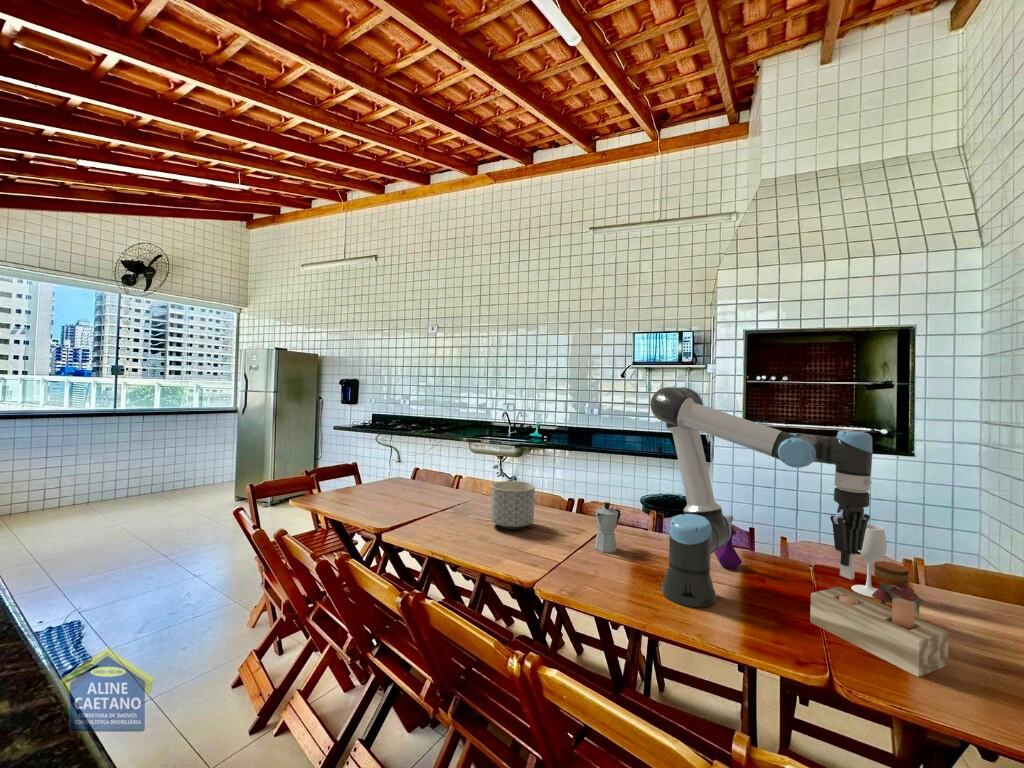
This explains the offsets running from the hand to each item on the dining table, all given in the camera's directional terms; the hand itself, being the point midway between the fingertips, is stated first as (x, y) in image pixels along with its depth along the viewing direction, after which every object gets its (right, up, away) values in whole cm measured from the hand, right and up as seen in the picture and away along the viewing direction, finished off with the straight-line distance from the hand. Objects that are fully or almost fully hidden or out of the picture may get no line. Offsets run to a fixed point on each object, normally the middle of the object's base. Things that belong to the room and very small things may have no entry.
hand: (846, 576), depth 117 cm
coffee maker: (-52, -13, +54) cm, 76 cm away
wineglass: (+24, -15, +22) cm, 36 cm away
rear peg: (0, -14, 0) cm, 14 cm away
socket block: (+2, -14, -6) cm, 15 cm away
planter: (-90, -12, +76) cm, 118 cm away
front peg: (+5, -9, -11) cm, 15 cm away
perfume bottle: (-12, -14, +40) cm, 44 cm away
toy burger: (+17, -15, +5) cm, 23 cm away
